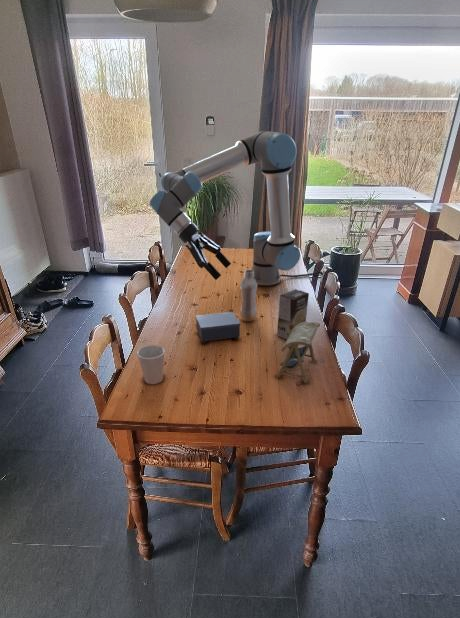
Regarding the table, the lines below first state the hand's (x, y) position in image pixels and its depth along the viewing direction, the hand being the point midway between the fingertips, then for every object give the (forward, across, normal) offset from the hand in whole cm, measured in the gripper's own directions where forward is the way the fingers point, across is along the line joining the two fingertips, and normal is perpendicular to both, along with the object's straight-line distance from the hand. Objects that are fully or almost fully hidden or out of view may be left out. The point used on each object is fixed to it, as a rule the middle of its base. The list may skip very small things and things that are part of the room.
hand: (223, 271), depth 165 cm
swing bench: (+38, +32, +11) cm, 51 cm away
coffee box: (+34, +8, +6) cm, 35 cm away
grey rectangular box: (+15, +17, -12) cm, 26 cm away
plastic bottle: (+21, 0, -6) cm, 22 cm away
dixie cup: (+8, +50, -20) cm, 54 cm away
